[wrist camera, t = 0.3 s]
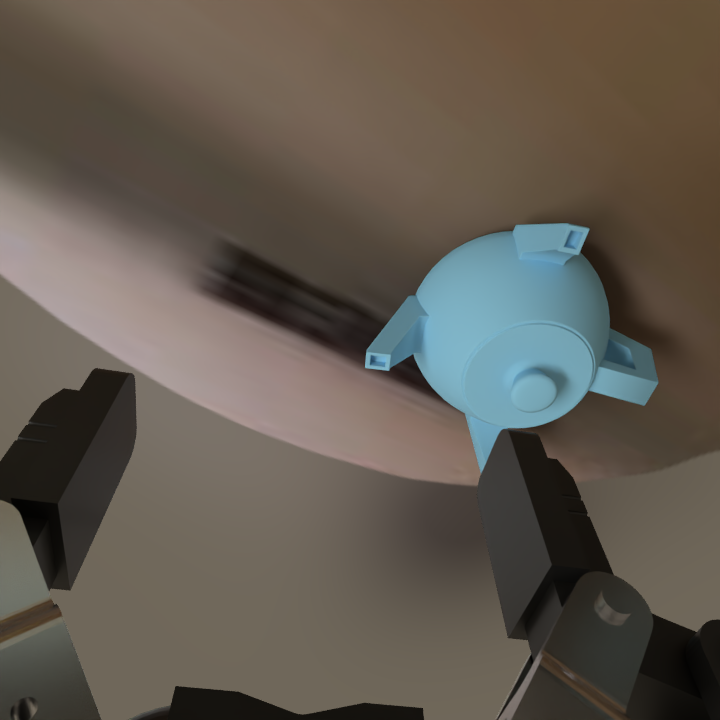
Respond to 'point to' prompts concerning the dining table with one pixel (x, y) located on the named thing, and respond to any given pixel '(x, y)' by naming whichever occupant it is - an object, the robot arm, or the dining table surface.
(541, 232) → the teapot
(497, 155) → the dining table surface
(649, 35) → the dining table surface
